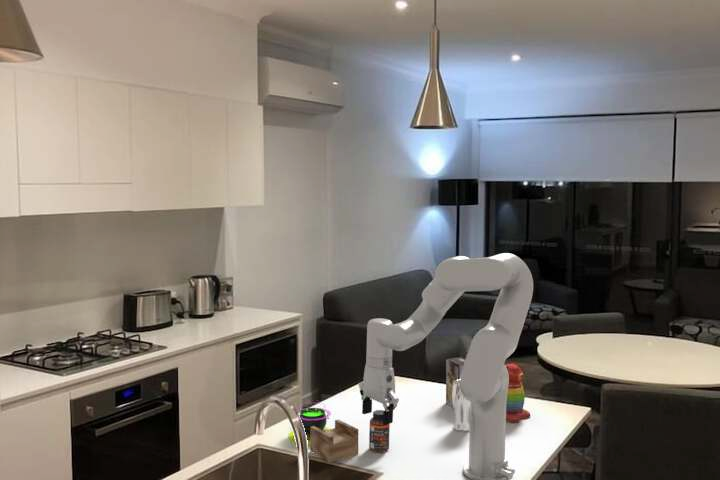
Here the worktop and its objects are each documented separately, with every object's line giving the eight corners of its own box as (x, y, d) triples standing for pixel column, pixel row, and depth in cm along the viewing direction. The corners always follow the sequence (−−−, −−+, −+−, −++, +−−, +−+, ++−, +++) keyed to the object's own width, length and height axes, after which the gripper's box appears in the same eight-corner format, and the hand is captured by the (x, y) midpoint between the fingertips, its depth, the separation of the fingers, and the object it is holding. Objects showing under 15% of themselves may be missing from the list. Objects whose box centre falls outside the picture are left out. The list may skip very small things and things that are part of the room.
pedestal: (358, 454, 192) (358, 429, 191) (329, 462, 186) (329, 437, 185) (338, 443, 200) (338, 419, 199) (310, 451, 194) (310, 426, 193)
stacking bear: (513, 424, 216) (515, 370, 215) (488, 415, 224) (489, 364, 222) (532, 416, 223) (534, 364, 222) (507, 408, 231) (509, 358, 229)
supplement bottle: (372, 454, 192) (372, 416, 191) (366, 446, 197) (366, 409, 196) (392, 452, 193) (392, 414, 192) (385, 444, 199) (386, 407, 198)
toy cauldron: (346, 433, 208) (346, 399, 207) (317, 449, 196) (316, 413, 195) (308, 423, 216) (308, 390, 215) (278, 438, 204) (278, 403, 203)
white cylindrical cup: (473, 433, 208) (474, 386, 207) (451, 431, 210) (451, 385, 208) (474, 425, 215) (475, 379, 214) (452, 423, 216) (453, 378, 215)
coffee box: (474, 408, 231) (475, 363, 230) (459, 410, 229) (459, 365, 227) (459, 400, 240) (460, 356, 238) (444, 402, 237) (445, 358, 235)
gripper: (408, 366, 189) (406, 425, 190) (370, 352, 202) (369, 407, 204) (388, 371, 184) (386, 430, 186) (351, 356, 198) (349, 411, 199)
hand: (377, 418), depth 195 cm, fingers open, 9 cm apart
